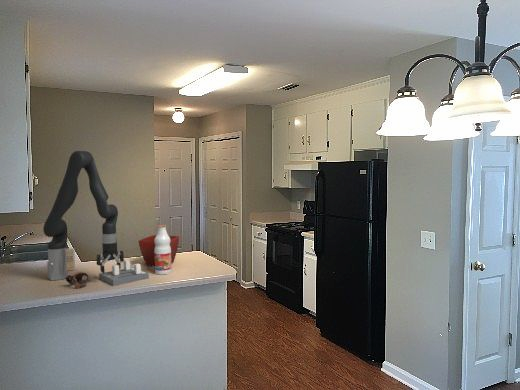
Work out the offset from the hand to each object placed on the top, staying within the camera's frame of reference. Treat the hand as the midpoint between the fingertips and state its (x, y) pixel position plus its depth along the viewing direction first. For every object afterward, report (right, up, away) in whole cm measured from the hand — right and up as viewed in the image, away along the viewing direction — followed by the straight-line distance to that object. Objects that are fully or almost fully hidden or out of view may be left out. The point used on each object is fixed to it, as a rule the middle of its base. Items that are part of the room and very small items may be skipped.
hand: (110, 271), depth 229 cm
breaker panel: (+5, -5, +5) cm, 9 cm away
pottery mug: (-14, -7, -8) cm, 18 cm away
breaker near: (+14, -2, +3) cm, 14 cm away
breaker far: (+5, -1, +13) cm, 14 cm away
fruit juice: (+25, -4, +16) cm, 30 cm away
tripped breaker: (+2, -2, +2) cm, 3 cm away
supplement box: (-36, -4, +26) cm, 45 cm away
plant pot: (+18, -3, +37) cm, 42 cm away
